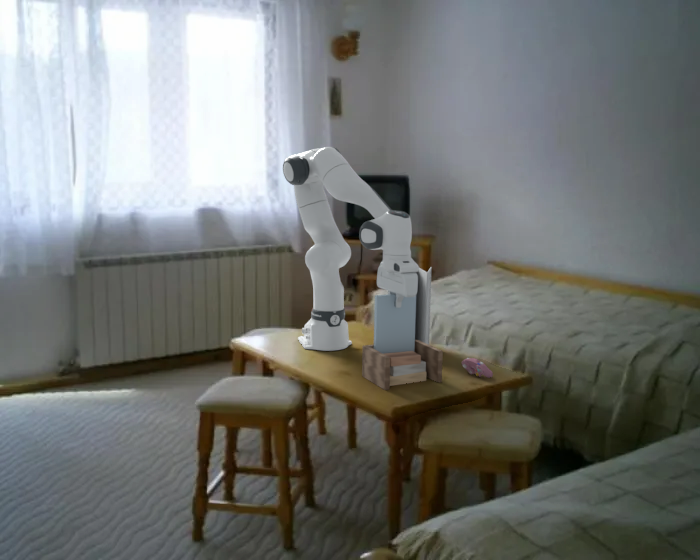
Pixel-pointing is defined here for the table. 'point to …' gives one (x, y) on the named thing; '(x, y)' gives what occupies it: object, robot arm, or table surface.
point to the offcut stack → (406, 368)
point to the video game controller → (476, 367)
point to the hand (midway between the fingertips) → (395, 306)
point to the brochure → (423, 306)
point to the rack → (379, 364)
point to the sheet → (394, 324)
